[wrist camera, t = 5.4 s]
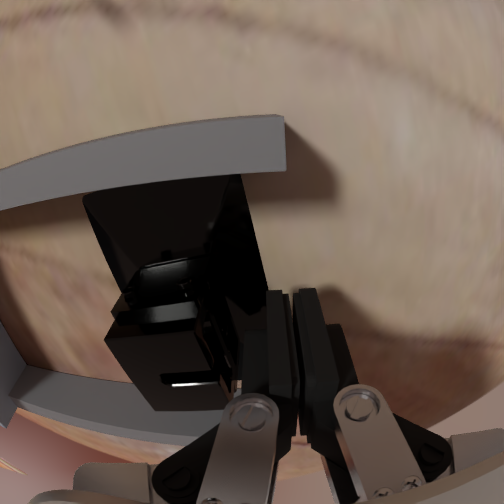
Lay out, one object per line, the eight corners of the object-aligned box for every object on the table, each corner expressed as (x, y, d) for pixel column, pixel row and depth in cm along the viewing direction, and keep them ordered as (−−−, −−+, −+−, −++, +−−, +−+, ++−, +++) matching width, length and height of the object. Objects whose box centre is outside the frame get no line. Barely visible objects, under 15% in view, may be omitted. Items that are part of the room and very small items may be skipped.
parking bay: (275, 114, 8) (295, 120, 4) (283, 399, 15) (287, 483, 10) (-56, 194, 9) (-115, 232, 5) (24, 373, 16) (-4, 423, 11)
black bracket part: (299, 375, 15) (308, 453, 10) (170, 387, 15) (154, 457, 11) (243, 115, 9) (231, 123, 5) (64, 175, 10) (-16, 221, 6)
